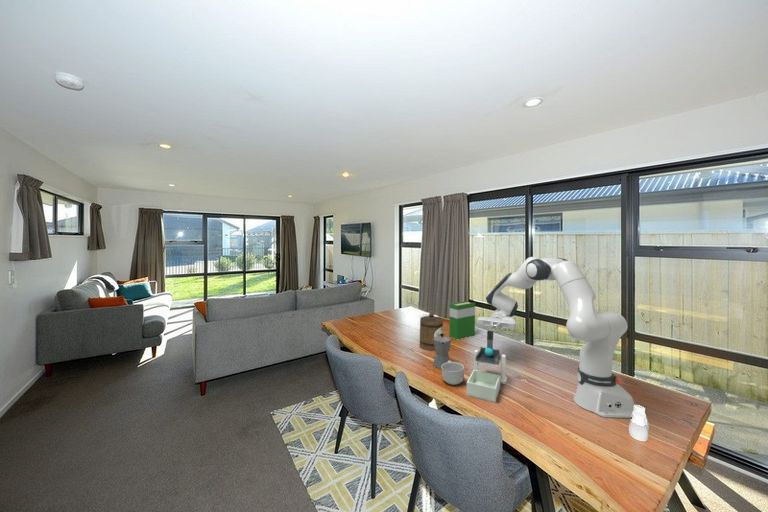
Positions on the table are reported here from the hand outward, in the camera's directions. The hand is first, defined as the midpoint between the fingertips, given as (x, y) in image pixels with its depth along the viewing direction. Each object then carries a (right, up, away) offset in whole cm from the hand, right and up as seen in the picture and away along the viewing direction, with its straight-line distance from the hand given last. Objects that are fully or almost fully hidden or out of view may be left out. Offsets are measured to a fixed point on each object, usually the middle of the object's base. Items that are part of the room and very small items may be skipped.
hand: (494, 326), depth 158 cm
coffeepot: (-28, -22, +4) cm, 36 cm away
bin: (-14, -24, -24) cm, 37 cm away
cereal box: (-3, -20, +52) cm, 55 cm away
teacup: (-26, -23, -14) cm, 37 cm away
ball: (-8, -9, -14) cm, 19 cm away
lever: (-8, -16, -15) cm, 23 cm away
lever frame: (-7, -23, -11) cm, 26 cm away
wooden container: (-29, -21, +32) cm, 48 cm away
